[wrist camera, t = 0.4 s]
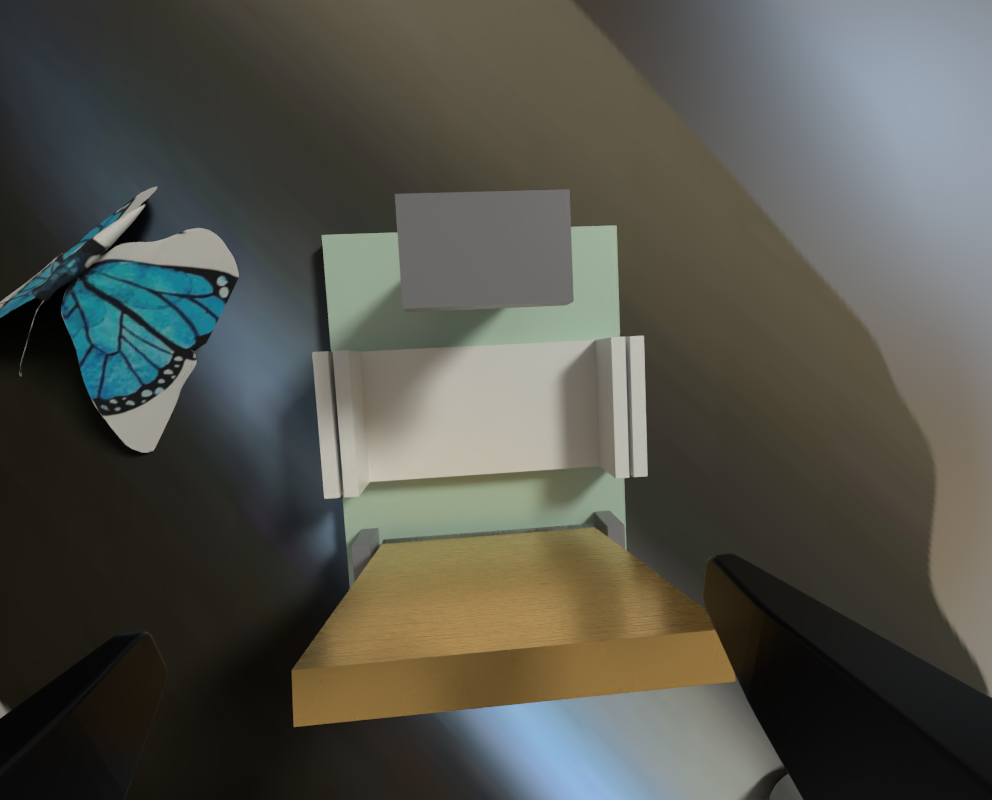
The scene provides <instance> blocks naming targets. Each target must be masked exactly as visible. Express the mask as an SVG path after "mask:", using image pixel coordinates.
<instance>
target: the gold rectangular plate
mask: <svg viewBox="0 0 992 800" xmlns="http://www.w3.org/2000/svg"><path fill="white" fill-rule="evenodd" d="M726 682H735V673H734V671H733V668H732V666H731V664H730V662H729V659H728V657H727V655H726V653H725V650H724V648H723V646H722V644H721V642H720V639H719V637H718V635H717V633H716V630H715V628H714V626H713V624H712V622H711V619H710V617H709V615H708V613H707V610H705V609H704V608H703V607H701V606H700V605H699V604H697V603H696V602H695V601H693V600H692V599H690V598H689V597H688V596H686V595H685V594H684V593H682V592H681V591H680V590H678V589H677V588H676V587H674V586H673V585H672V584H670V583H669V582H668V581H666V580H665V579H664V578H662V577H661V576H660V575H658V574H657V573H656V572H654V571H653V570H652V569H650V568H649V567H648V566H646V565H645V564H644V563H642V562H641V561H640V560H638V559H637V558H636V557H634V556H633V555H631V554H630V553H629V552H627V551H626V550H625V549H623V548H622V547H621V546H619V545H618V544H617V543H615V542H614V541H613V540H611V539H610V538H609V537H607V536H606V535H605V534H603V533H602V532H601V531H599V530H598V529H597V528H595V526H594V525H593V523H589V524H576V525H563V526H551V527H538V528H525V529H512V530H499V531H486V532H473V533H460V534H447V535H434V536H421V537H408V538H395V539H384V540H383V542H382V545H381V546H380V547H379V549H378V550H377V552H376V553H375V554H374V556H373V557H372V559H371V560H370V561H369V563H368V564H367V566H366V567H365V568H364V570H363V571H362V573H361V574H360V575H359V577H358V578H357V580H356V581H355V582H354V584H353V585H352V587H351V588H350V589H349V591H348V592H347V594H346V595H345V596H344V598H343V599H342V601H341V602H340V603H339V605H338V606H337V607H336V609H335V610H334V612H333V613H332V614H331V616H330V617H329V619H328V620H327V621H326V623H325V624H324V626H323V627H322V628H321V630H320V631H319V633H318V634H317V635H316V637H315V638H314V640H313V641H312V642H311V644H310V645H309V647H308V648H307V649H306V651H305V652H304V654H303V655H302V656H301V658H300V659H299V661H298V662H297V663H296V665H295V666H294V668H293V669H292V695H293V722H294V727H299V726H309V725H318V724H328V723H338V722H348V721H357V720H367V719H377V718H386V717H396V716H406V715H415V714H425V713H435V712H445V711H454V710H464V709H474V708H483V707H493V706H503V705H513V704H522V703H532V702H542V701H551V700H561V699H571V698H581V697H590V696H600V695H610V694H619V693H629V692H639V691H648V690H658V689H668V688H678V687H687V686H697V685H707V684H716V683H726Z"/></svg>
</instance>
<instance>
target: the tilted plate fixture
mask: <svg viewBox="0 0 992 800" xmlns="http://www.w3.org/2000/svg"><path fill="white" fill-rule="evenodd" d="M395 203H396V218H397V233H369V234H338V235H322V245H323V258H324V270H325V283H326V296H327V308H328V321H329V333H330V346H331V351H322V352H312V357H313V369H314V381H315V393H316V405H317V417H318V429H319V441H320V454H321V466H322V478H323V490H324V499H331V498H340V496H341V495H342V497H343V509H344V522H345V534H346V547H347V560H348V572H349V585H350V588H351V587H352V585H353V584H354V582H355V581H356V580H357V578H358V577H359V575H360V574H361V573H362V571H363V570H364V568H365V567H366V566H367V564H368V563H369V561H370V560H371V559H372V557H373V556H374V554H375V553H376V552H377V550H378V549H379V547H380V546H381V545H382V542H383V540H384V539H395V538H408V537H421V536H434V535H447V534H460V533H473V532H486V531H499V530H512V529H525V528H538V527H551V526H563V525H576V524H589V523H593V525H594V526H595V528H597V529H598V530H599V531H601V532H602V533H603V534H605V535H606V536H607V537H609V538H610V539H611V540H613V541H614V542H615V543H617V544H618V545H619V546H621V547H622V548H623V549H625V550H626V523H625V489H624V478H629V474H630V475H631V476H633V477H644V476H648V474H647V436H646V397H645V359H644V336H629V337H620V323H619V290H618V257H617V226H586V227H571V216H570V190H569V189H568V190H530V191H493V192H455V193H418V194H395Z"/></svg>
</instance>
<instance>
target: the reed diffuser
mask: <svg viewBox="0 0 992 800" xmlns="http://www.w3.org/2000/svg"><path fill="white" fill-rule="evenodd" d="M769 800H803V799H802V797H801V795H800V793H799V791H798V790H797V788H796V786H795V784H794V783H793V781H792V779H791V777H790V776H789V774H787V775H785V776H784V777H783V778H782V779H781V780H779V782H778V783H777V784H776V785H775V787H774V788H773V790H772V792H771V794H770V797H769Z"/></svg>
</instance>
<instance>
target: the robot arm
mask: <svg viewBox="0 0 992 800" xmlns="http://www.w3.org/2000/svg"><path fill="white" fill-rule="evenodd" d="M703 601H704V605H705V608H706V610H707V613H708V615H709V617H710V619H711V622H712V624H713V626H714V628H715V630H716V633H717V635H718V637H719V639H720V642H721V644H722V646H723V648H724V650H725V653H726V655H727V657H728V659H729V662H730V664H731V666H732V668H733V671H734V673H735V675H736V677H737V679H738V682H739V684H740V686H741V688H742V690H743V692H744V694H745V697H746V699H747V701H748V703H749V704H750V706H751V708H752V710H753V712H754V714H755V716H756V717H757V719H758V721H759V723H760V724H761V726H762V728H763V730H764V732H765V733H766V735H767V737H768V739H769V740H770V742H771V744H772V746H773V747H774V749H775V751H776V753H777V754H778V756H779V758H780V760H781V762H782V763H783V765H784V767H785V769H786V770H787V772H788V774H789V776H790V777H791V779H792V781H793V783H794V784H795V786H796V788H797V790H798V791H799V793H800V795H801V797H802V799H803V800H992V698H991V697H989V696H988V695H986V694H984V693H982V692H981V691H979V690H977V689H975V688H973V687H972V686H970V685H968V684H966V683H964V682H963V681H961V680H959V679H957V678H955V677H954V676H952V675H950V674H948V673H947V672H945V671H943V670H941V669H939V668H938V667H936V666H934V665H932V664H930V663H929V662H927V661H925V660H923V659H922V658H920V657H918V656H916V655H914V654H913V653H911V652H909V651H907V650H905V649H904V648H902V647H900V646H898V645H896V644H895V643H893V642H891V641H889V640H888V639H886V638H884V637H882V636H880V635H879V634H877V633H875V632H873V631H871V630H870V629H868V628H866V627H864V626H863V625H861V624H859V623H857V622H855V621H854V620H852V619H850V618H848V617H846V616H845V615H843V614H841V613H839V612H837V611H836V610H834V609H832V608H830V607H829V606H827V605H825V604H823V603H821V602H820V601H818V600H816V599H814V598H812V597H811V596H809V595H807V594H805V593H804V592H802V591H800V590H798V589H796V588H795V587H793V586H791V585H789V584H787V583H786V582H784V581H782V580H780V579H778V578H777V577H775V576H773V575H771V574H770V573H768V572H766V571H764V570H762V569H761V568H759V567H757V566H755V565H753V564H752V563H750V562H748V561H746V560H745V559H743V558H741V557H739V556H737V555H735V554H723V555H716V556H711V557H709V559H708V560H707V563H706V570H705V579H704V587H703ZM166 681H167V667H166V664H165V662H164V660H163V658H162V656H161V654H160V652H159V649H158V647H157V645H156V643H155V641H154V639H153V637H152V635H151V634H150V633H148V632H147V631H138V632H130V633H123V634H119V635H116V636H114V637H113V638H111V639H110V640H108V641H107V642H106V643H104V644H103V645H101V646H100V647H99V648H97V649H96V650H94V651H93V652H92V653H90V654H89V655H88V656H86V657H85V658H83V659H82V660H81V661H79V662H78V663H76V664H75V665H74V666H72V667H71V668H70V669H68V670H67V671H65V672H64V673H63V674H61V675H60V676H59V677H57V678H56V679H54V680H53V681H52V682H50V683H49V684H47V685H46V686H45V687H43V688H42V689H41V690H39V691H38V692H36V693H35V694H34V695H32V696H31V697H29V698H28V699H27V700H25V701H24V702H23V703H21V704H20V705H18V706H17V707H16V708H14V709H13V710H12V711H10V712H9V713H7V714H6V715H5V716H3V717H2V718H0V800H124V799H125V797H126V794H127V792H128V789H129V786H130V784H131V781H132V779H133V776H134V773H135V770H136V767H137V765H138V762H139V759H140V756H141V753H142V750H143V748H144V745H145V742H146V739H147V736H148V733H149V731H150V728H151V725H152V722H153V719H154V716H155V714H156V711H157V708H158V705H159V702H160V699H161V697H162V694H163V691H164V688H165V685H166Z"/></svg>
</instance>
